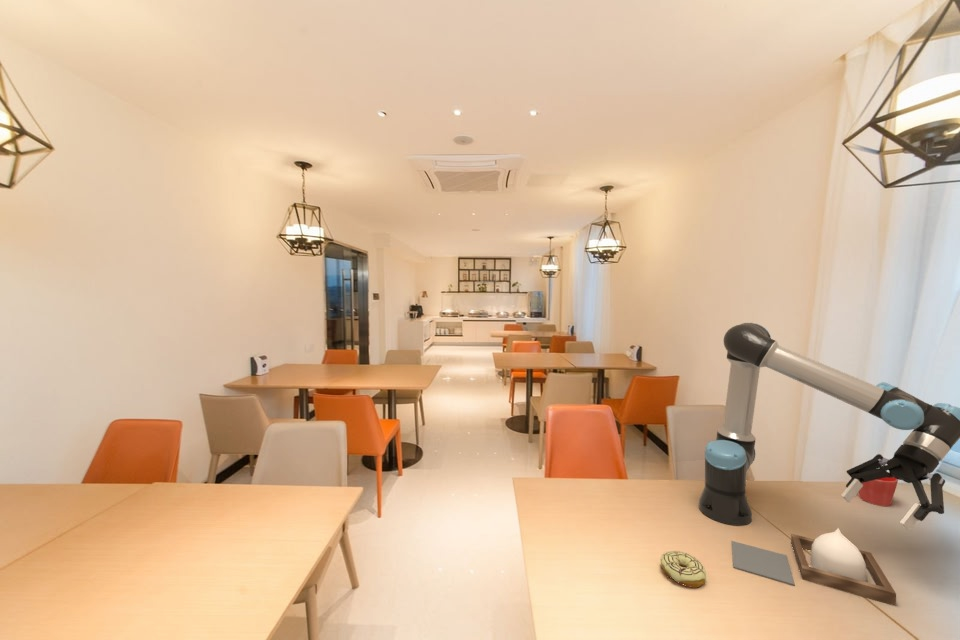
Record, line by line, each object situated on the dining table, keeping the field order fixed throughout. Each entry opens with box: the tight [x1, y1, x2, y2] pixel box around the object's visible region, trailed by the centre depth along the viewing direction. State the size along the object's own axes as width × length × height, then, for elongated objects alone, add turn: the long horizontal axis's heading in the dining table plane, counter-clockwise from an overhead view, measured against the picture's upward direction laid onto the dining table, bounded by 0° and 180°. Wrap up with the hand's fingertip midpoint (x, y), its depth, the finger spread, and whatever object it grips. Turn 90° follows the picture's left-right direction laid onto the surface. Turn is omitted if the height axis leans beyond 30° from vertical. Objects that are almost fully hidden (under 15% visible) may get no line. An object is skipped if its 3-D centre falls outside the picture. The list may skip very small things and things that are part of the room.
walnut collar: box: [790, 533, 897, 607], centre depth 101 cm, size 17×17×3 cm
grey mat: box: [731, 540, 796, 587], centre depth 105 cm, size 13×13×1 cm
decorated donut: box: [660, 550, 707, 588], centre depth 100 cm, size 10×11×4 cm
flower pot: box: [858, 477, 899, 507], centre depth 135 cm, size 11×11×10 cm
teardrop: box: [809, 527, 868, 582], centre depth 100 cm, size 11×11×12 cm
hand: (872, 512), depth 102 cm, fingers open, 13 cm apart
